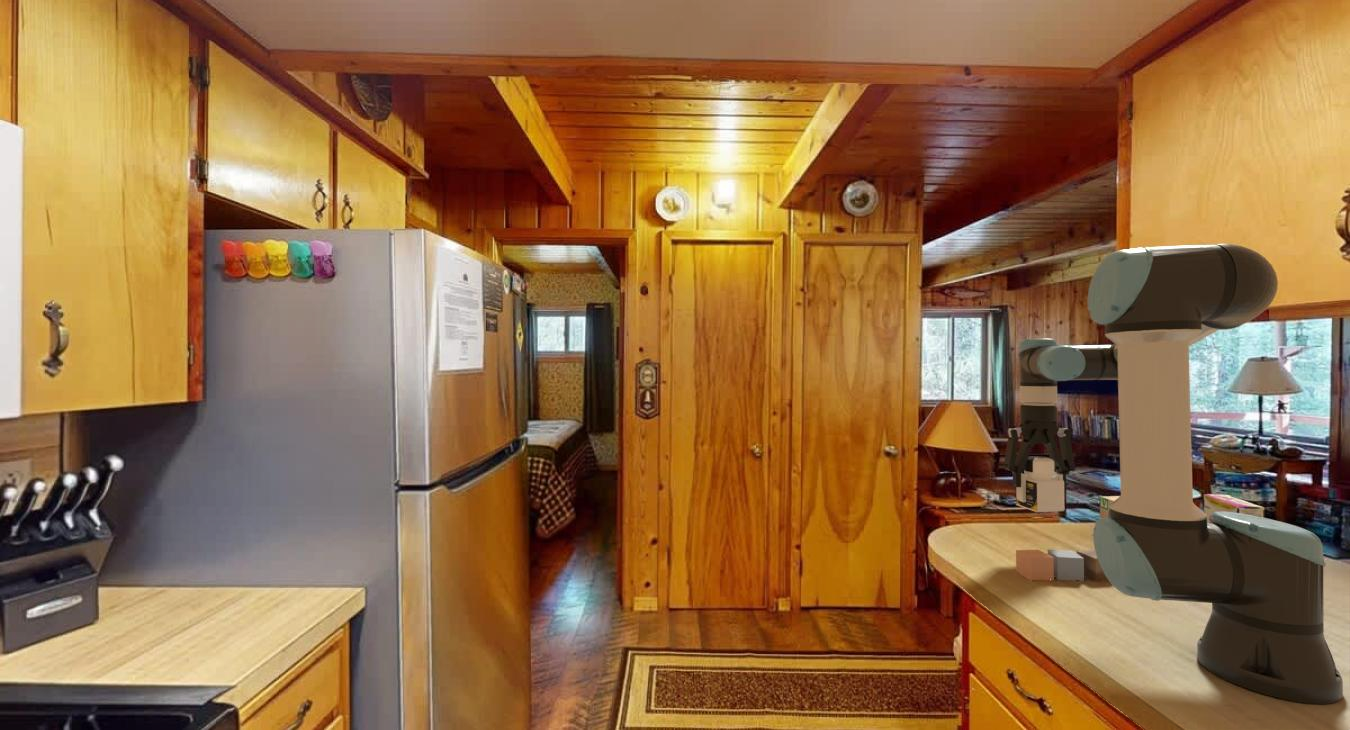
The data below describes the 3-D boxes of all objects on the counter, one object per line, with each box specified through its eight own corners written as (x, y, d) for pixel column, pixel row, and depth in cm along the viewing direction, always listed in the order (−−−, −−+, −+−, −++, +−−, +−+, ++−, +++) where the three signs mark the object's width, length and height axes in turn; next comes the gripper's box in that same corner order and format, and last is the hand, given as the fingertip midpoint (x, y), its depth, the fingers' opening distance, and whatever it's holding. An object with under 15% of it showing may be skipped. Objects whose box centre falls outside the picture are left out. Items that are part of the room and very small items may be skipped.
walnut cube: (1117, 580, 123) (1116, 557, 123) (1095, 582, 122) (1095, 558, 122) (1097, 572, 128) (1097, 549, 128) (1076, 573, 127) (1076, 550, 127)
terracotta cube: (1053, 580, 123) (1053, 557, 123) (1030, 581, 123) (1030, 557, 123) (1038, 572, 128) (1038, 549, 128) (1016, 572, 128) (1016, 550, 128)
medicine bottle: (1015, 505, 139) (1014, 455, 139) (1042, 503, 140) (1041, 454, 140) (1036, 512, 132) (1036, 460, 132) (1065, 511, 133) (1064, 459, 133)
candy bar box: (1202, 565, 130) (1201, 493, 130) (1228, 567, 129) (1228, 494, 129) (1238, 584, 119) (1237, 505, 119) (1267, 586, 118) (1266, 506, 118)
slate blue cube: (1084, 581, 122) (1083, 558, 122) (1057, 580, 123) (1057, 557, 123) (1072, 573, 127) (1072, 550, 127) (1047, 571, 128) (1047, 549, 128)
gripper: (1073, 402, 139) (1074, 497, 139) (985, 403, 140) (987, 497, 140) (1094, 404, 132) (1095, 504, 132) (1001, 405, 133) (1002, 504, 133)
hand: (1039, 500), depth 136 cm, fingers closed on medicine bottle, 8 cm apart
